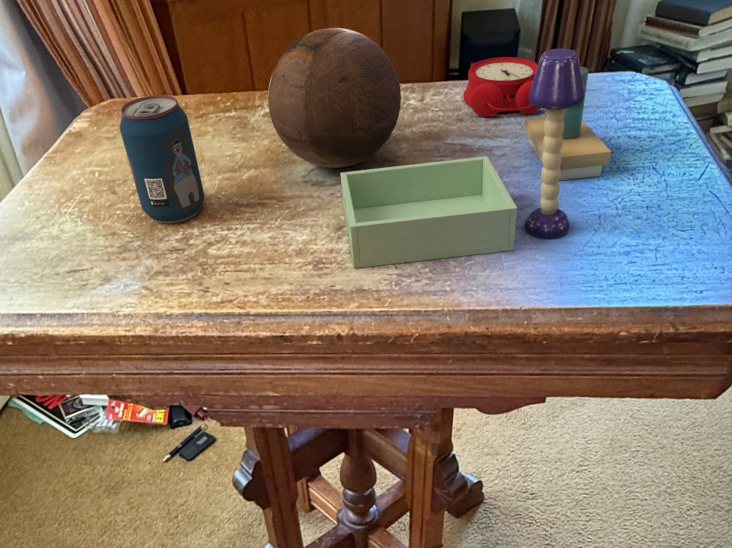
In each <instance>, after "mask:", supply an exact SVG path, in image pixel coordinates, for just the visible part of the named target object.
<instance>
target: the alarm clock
mask: <svg viewBox="0 0 732 548" xmlns="http://www.w3.org/2000/svg"><path fill="white" fill-rule="evenodd" d="M538 64H539V63H537V62H535V61H533V60H530V59H527V58H524V57H523V58H522V57H513V56H500V57H491V58H486V59H483V60H480V61H477V62H475V63H474V62H471V64H470V67H469V70H468V75H467V76H468V82H467V85H466V88H465V90H464V91H463V94H462V95H463V96H462V97H463V102H465V104H467V105H468V106H470V107H471V109H472V111H473V113H475V114H476V115H477V116H481V117H483V118H486V117H487V118H488V117H493V116H495V115H497V114H498V113H499V112H500V113H501V112H503V113H505V112H514V111H518V112H520V113H522V114H524V115H531V114H535V113H537V112H539V111H540V110H541V109H542V108H538V107H536V106H534V105H532V104H531V103H530V101H529V93H530V89H531V86H532V83H533V80H534V76H535V73H536V70H537V67H538Z"/></svg>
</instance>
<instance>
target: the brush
mask: <svg viewBox="0 0 732 548" xmlns="http://www.w3.org/2000/svg"><path fill="white" fill-rule="evenodd" d="M580 68H581V74H582V80H583V86H584V93H585V95H584V99H583V101H582V102H581V103H580V104H578V105H576V106H574V107H571V108H566V112H565V115H564V117H563V120H564V131H563V133H562V138H563V146H562V149H561V150H560V151H561V154H562V161H561V164H560V166H559V167H560V170H561V176H560V180H559V181H558V182H560V181H567V180H576V179H586V178H595V177H601V176H602V171H603V166H607V165H610V163H611V162H610V161H611V155H612V151H611V149H609V146H607V145H606V144H605V143H604V142H603V141H602V140H601V139H600V138H599V136H598V135H597V134H596V133H595V132H594V131H593V130H592V129H591V128H590V127H589V125H587V123H586V122H585V121H584V120H583V115H584V107H585V101H586V100H585V99H586V92H587V86H588V85H587V84H588V79H589V78H588V77H589V69H588V68H587V67H585V66H581V65H580ZM546 119H547V117H546V115H543V116H536V117H535V116H534V117H526V118H525V119H524V129H523V130H524V133H525V134H526V135H527V137H528V144H529V146H530V148H531V149H532V151H533V152H534V154H535V155H536V157H537V158H538V159H539V161H540V162H541V163H542V155H543V152H544V151H545V150H544V147H543V140H544V137H545V135H546V134H545V131H544V124H545V121H546Z"/></svg>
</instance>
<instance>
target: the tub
mask: <svg viewBox="0 0 732 548" xmlns="http://www.w3.org/2000/svg"><path fill="white" fill-rule="evenodd" d="M340 184H341V194H342V195H341V196H342V207H343V214H344V221H345V226H346V231H347V237H348V238H347V239H348V243H349V249H350V256H351V261H352V266H353V269H359V268H368V267H369V268H370V267H377V266H386V265H394V264H405V263H413V262H422V261H431V260H440V259H448V258H449V259H450V258H457V257H467V256H475V255H483V254H484V255H485V254H493V253H501V252H510V251H511V252H512V251H515V243H516V232H517V231H516V229H517V217H518V206H517V205H516V203H515V201H514V200H513V197H512V196H511V195H510V192H509V191H508V190H507V188H506V186H505V184H504V182H503V181H502V179H501V177H500V175H499V173H498V172H497V170H496V169H495V167H494V166H493V163H492V161H491V160H490V158H489V157H488V156H487V155H486V156H477V157H476V156H475V157H469V158H459V159H451V160H441V161H434V162H433V161H432V162H423V163H416V164H406V165H397V166H389V167H387V166H386V167H379V168H378V167H377V168H370V169H361V170H353V171H345V172H340Z"/></svg>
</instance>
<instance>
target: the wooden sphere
mask: <svg viewBox="0 0 732 548" xmlns="http://www.w3.org/2000/svg"><path fill="white" fill-rule="evenodd" d="M269 80H270V81H269V84H268V92H267V93H268V95H267V101H268V111H269V116H270V119H271V123H272V125H273V127H274V129H275V132H276V134H277V135H278V137H279V138H280V140H281V141H282V143H283V144H284V145H285V146H286V147H287V148H288V149H289V150H290V151H291V152H292V153H293V154H295V156H297V157H299V158H300V159H301V160H303V161H306V162H308V163H310V164H312V165H315V166H318V167H323V168H331V169H338V168H347V167H350V166H354V165H357V164H359V163H362V162H364V161H366V160H368V159H369V158H371V157H372V156H374V155H375V154H376V153H377V152H378V151H380V150H381V148H382V147H384V146H385V144H386V142H387V141H388V140H389V139H390V137H391V135H392V134H393V132H394V130H395V128H396V126H397V123H398V120H399V117H400V112H401V104H402V91H401V84H400V80H399V75H398V73H397V70H396V68H395V66H394V64H393V62H392V61H391V59H390V57H389V55H388V54H387V53H386V52H385V50H384V49H383V48H382V47H381V46H379V44H377V43H376V42H375V41H374V40H373V39H371V38H370V37H368V36H367V35H365V34H362V33H360V32H358V31H355V30H352V29H348V28H341V27H330V28H329V27H328V28H322V29H317V30H315V31H312V32H309V33H307V34H305V35H303V36H301V37H299V38H298V39H297V40H295V41H294V42H293V43H292V44H290V46H288V48H287V49H286V50H285V51H284V52H283V53H282V55H281V56H280V57H279V58H278V61H277V63H276V64H275V66H274V68H273V70H272V73H271V76H270V79H269Z"/></svg>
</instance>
